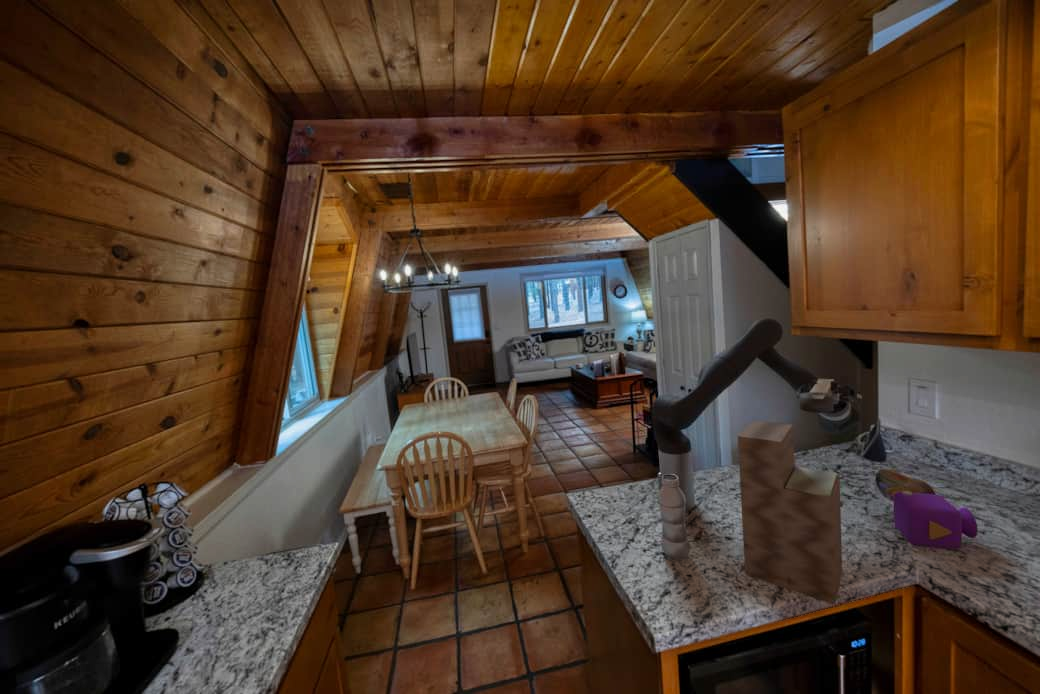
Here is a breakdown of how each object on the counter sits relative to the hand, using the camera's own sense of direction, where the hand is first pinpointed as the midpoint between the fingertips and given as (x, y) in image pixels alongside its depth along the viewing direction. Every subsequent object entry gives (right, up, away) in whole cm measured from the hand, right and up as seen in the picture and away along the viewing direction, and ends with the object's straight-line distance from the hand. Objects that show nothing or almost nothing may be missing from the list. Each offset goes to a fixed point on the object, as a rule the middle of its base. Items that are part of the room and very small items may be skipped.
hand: (823, 384), depth 97 cm
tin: (+32, -34, +14) cm, 49 cm away
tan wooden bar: (-2, -4, -3) cm, 5 cm away
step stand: (-12, -41, -7) cm, 43 cm away
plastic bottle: (-34, -42, +3) cm, 54 cm away
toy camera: (+25, -36, -1) cm, 44 cm away
